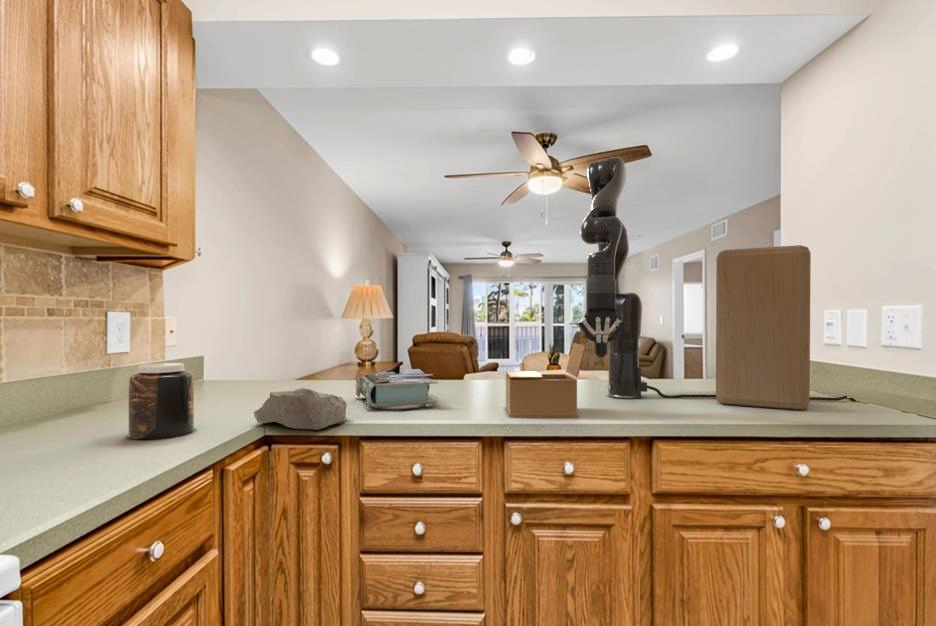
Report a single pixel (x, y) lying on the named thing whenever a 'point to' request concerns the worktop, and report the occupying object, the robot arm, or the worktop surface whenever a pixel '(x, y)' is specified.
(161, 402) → the jar
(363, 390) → the ornate book
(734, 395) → the wooden block
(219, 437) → the worktop surface
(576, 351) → the cardboard box flap
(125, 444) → the worktop surface
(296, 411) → the stone
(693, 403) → the worktop surface
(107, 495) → the worktop surface
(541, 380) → the open shipping carton
